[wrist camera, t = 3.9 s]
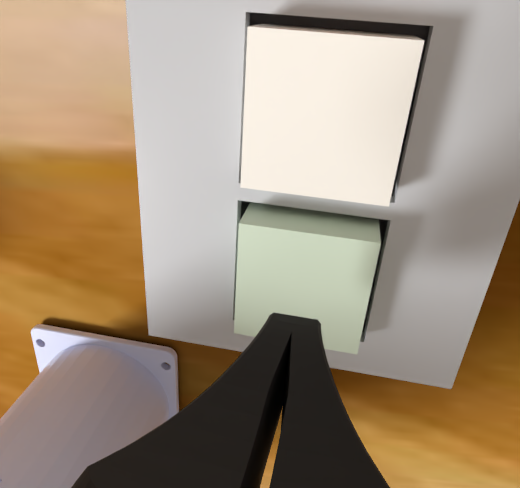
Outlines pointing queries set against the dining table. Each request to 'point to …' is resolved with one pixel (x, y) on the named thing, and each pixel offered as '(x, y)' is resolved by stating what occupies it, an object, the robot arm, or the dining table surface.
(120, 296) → the dining table surface
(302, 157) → the cream key
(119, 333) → the dining table surface
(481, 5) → the keypad base
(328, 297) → the sage key
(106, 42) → the dining table surface
